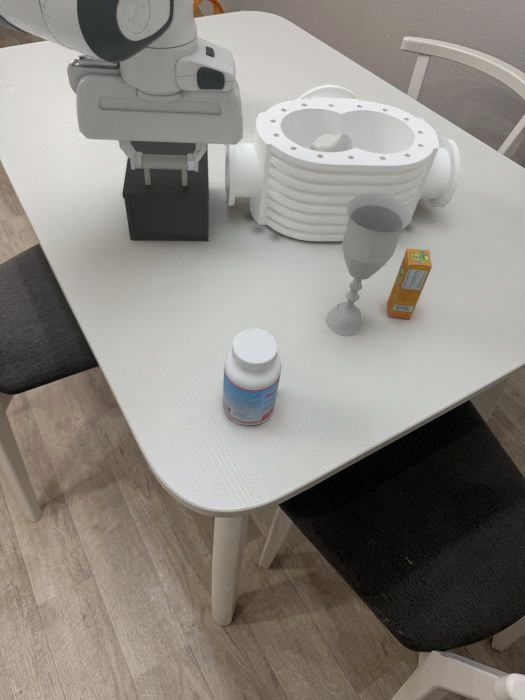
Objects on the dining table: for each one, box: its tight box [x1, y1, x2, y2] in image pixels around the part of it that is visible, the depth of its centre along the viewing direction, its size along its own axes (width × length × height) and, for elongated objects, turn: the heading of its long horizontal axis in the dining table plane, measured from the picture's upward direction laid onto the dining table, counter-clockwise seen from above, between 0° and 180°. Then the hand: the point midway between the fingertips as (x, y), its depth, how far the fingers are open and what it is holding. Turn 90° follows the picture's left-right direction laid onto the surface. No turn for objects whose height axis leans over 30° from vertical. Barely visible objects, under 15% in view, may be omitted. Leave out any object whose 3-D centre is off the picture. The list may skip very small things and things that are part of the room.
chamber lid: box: [121, 141, 210, 201], centre depth 73 cm, size 14×12×5 cm
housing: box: [224, 84, 461, 242], centre depth 81 cm, size 35×22×14 cm, turn 96°
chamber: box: [123, 198, 210, 242], centre depth 78 cm, size 14×12×8 cm
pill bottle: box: [222, 327, 282, 426], centre depth 56 cm, size 6×6×11 cm
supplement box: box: [386, 248, 433, 320], centre depth 68 cm, size 3×3×10 cm
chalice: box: [325, 193, 413, 336], centre depth 63 cm, size 7×7×18 cm
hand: (165, 168), depth 69 cm, fingers closed on chamber lid, 6 cm apart
